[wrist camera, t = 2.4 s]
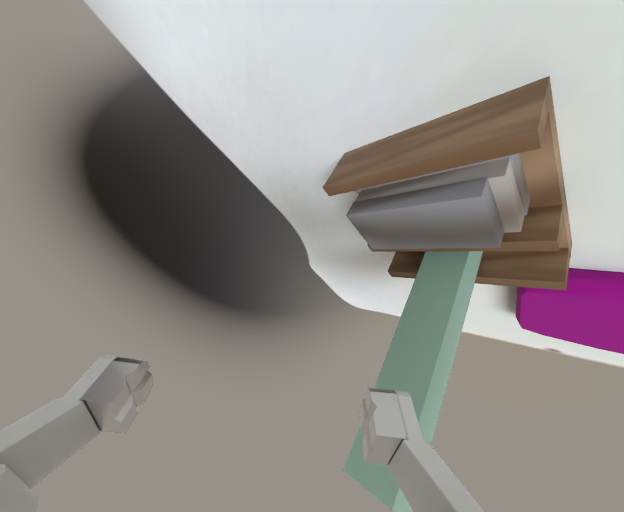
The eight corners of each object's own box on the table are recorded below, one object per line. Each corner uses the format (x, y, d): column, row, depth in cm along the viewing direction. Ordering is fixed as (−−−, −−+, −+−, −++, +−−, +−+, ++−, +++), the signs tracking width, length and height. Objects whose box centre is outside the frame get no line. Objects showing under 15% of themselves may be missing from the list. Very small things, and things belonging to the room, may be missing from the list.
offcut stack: (361, 176, 23) (340, 214, 22) (515, 135, 15) (500, 190, 13) (387, 215, 26) (370, 251, 24) (530, 198, 18) (519, 251, 16)
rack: (344, 153, 24) (322, 187, 22) (549, 76, 14) (537, 129, 12) (406, 246, 31) (392, 277, 30) (572, 243, 21) (566, 292, 19)
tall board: (434, 229, 25) (343, 469, 17) (476, 226, 22) (392, 510, 14) (443, 246, 26) (362, 476, 18) (484, 245, 23) (411, 515, 15)
